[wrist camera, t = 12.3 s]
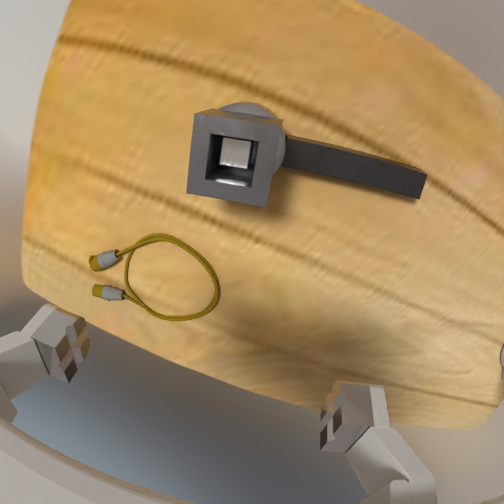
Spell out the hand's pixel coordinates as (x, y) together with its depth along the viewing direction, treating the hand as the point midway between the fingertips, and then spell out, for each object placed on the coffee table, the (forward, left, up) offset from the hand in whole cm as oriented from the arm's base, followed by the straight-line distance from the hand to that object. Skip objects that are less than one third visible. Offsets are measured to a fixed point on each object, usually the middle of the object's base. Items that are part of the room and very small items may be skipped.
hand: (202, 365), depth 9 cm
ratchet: (-4, -3, -22) cm, 22 cm away
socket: (+2, -2, -19) cm, 20 cm away
